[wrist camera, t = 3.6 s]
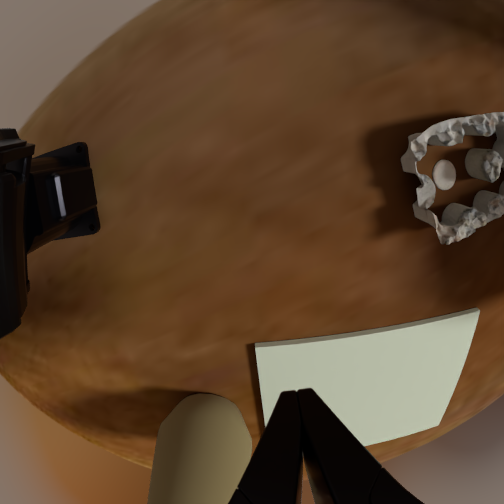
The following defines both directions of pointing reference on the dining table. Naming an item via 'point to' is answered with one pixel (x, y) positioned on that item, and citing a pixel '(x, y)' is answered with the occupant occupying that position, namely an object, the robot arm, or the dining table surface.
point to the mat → (374, 373)
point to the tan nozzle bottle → (200, 452)
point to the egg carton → (444, 174)
